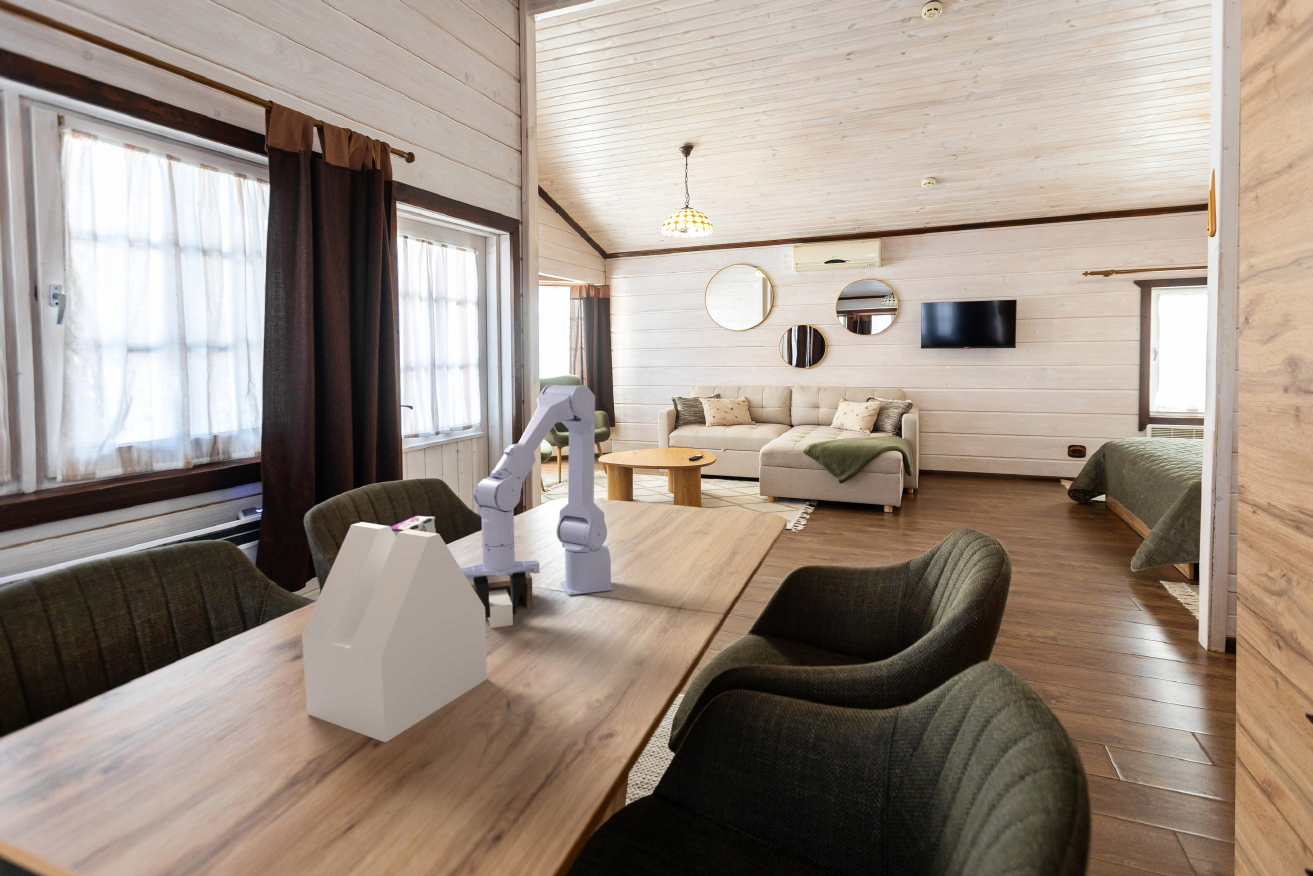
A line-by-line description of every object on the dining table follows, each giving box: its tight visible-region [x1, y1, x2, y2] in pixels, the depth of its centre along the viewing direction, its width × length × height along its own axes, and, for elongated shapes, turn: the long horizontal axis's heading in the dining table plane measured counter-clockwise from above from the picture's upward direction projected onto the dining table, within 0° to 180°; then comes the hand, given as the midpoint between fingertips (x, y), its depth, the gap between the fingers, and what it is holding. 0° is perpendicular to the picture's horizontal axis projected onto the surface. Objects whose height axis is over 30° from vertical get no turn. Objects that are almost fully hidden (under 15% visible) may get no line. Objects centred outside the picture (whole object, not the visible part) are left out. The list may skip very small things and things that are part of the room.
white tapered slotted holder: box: [301, 521, 488, 743], centre depth 96 cm, size 19×15×25 cm
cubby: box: [468, 573, 534, 609], centre depth 133 cm, size 14×9×6 cm, turn 110°
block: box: [487, 589, 514, 629], centre depth 126 cm, size 4×9×4 cm, turn 20°
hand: (500, 614), depth 123 cm, fingers closed on block, 4 cm apart
